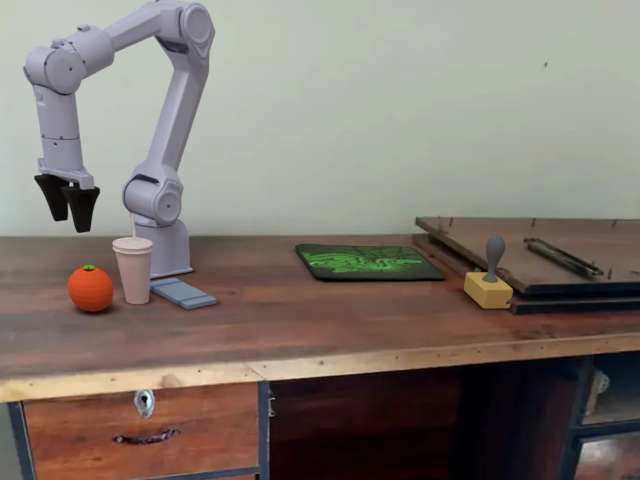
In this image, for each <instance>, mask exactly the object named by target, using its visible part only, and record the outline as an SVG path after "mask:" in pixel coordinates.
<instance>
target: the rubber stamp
mask: <svg viewBox="0 0 640 480" xmlns="http://www.w3.org/2000/svg"><path fill="white" fill-rule="evenodd" d="M505 251H506V242H505V238H503V237H502V235H501V236H500V235H499V234H494V235H492V236H490V237H489V238H488V240H487V241H486V245H485V254H486V259H487V266H488V267H487V268H488V270H487V271H486V272H483V271H482V272H480V271H479V272H477V271H476V272H475V271H474V272H471V271H470V272H469V271H468V272H466V273H465V277H464V282H463V283H464V284H463V285H464V286H463V292H465V293H466V294H467V295H468V296H469V297H470V298H471V299H472V300H473V301H474V302H476V303H477V304H478V305H479V306H480V307H481V308H482V309H510V308H511V305H512V302H511V303H510V304H506V302H507V301H508V300H509V299H511V298H512V299H513V295H514V290H513V288H512V287H511V286H510V285H509V284H508V283H506V282H505V281H504V280H502V278H500V277H499V276H497V275H496V268H497V266H498V264H499V262H500V261H501V259H502V257H503V255H504V253H505Z"/></svg>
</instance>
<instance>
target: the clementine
mask: <svg viewBox="0 0 640 480" xmlns="http://www.w3.org/2000/svg"><path fill="white" fill-rule="evenodd" d="M67 291H68V296H69V298H70V300H71V302H72V303H73V304H74V305H75V306H77V307H78V308H79V309H81V310H83V311H86V312H91V313H92V312H99V311H103V310H104V309H105V308H107V307H108V306H109V305H110V304H111V303H112V300H113V297H114V295H115V294H114V293H115V288H114V284H113V282H112V279H111V278H110V276H109V275H108V273H106V272H105V271H103V270H102V269H100V268H98V267H95V266H94V265H92V264H85V265H84V266H81V267H79V268H78V269H76V270H75V271H74V272H72V274H71V275H70V277H69V278H68V281H67Z"/></svg>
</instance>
